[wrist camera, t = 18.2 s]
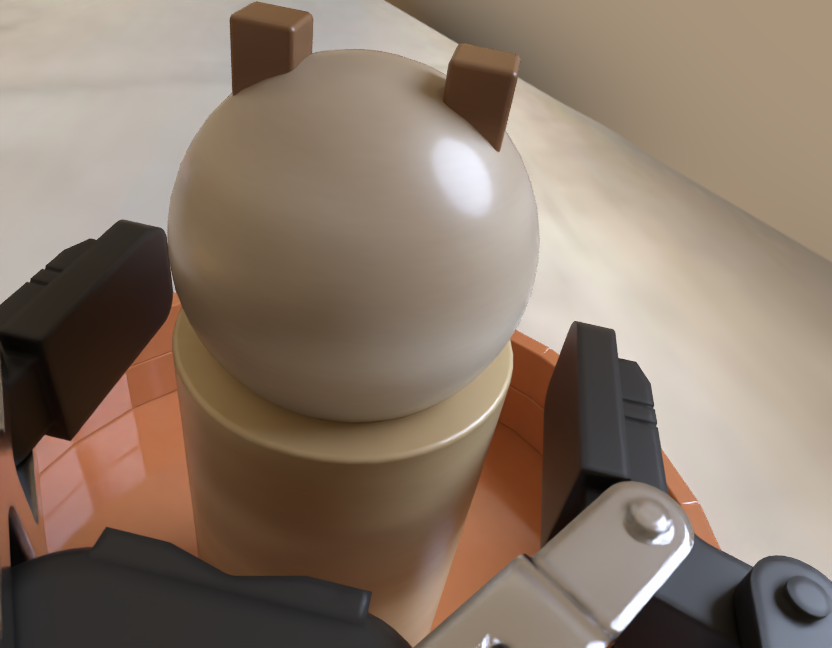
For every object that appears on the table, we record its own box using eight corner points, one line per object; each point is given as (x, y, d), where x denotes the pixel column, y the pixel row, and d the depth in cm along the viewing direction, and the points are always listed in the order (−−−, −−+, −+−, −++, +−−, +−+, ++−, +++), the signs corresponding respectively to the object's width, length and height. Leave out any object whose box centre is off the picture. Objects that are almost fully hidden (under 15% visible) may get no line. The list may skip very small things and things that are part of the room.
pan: (-444, 1045, 10) (-689, 1019, 7) (150, 322, 24) (136, 229, 21) (763, 1406, 9) (954, 1516, 6) (638, 433, 23) (682, 350, 21)
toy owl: (165, 691, 14) (10, 51, 6) (262, 480, 19) (256, -50, 10) (407, 755, 14) (622, 180, 5) (446, 525, 18) (596, 18, 10)
